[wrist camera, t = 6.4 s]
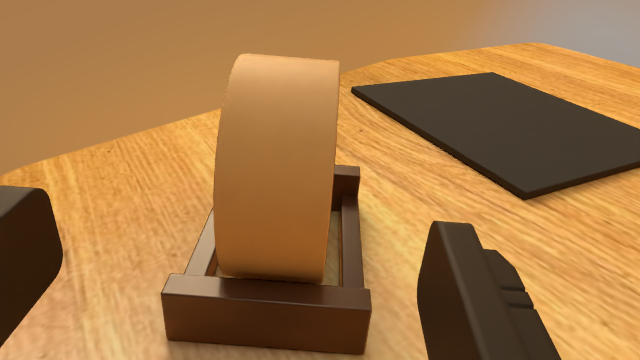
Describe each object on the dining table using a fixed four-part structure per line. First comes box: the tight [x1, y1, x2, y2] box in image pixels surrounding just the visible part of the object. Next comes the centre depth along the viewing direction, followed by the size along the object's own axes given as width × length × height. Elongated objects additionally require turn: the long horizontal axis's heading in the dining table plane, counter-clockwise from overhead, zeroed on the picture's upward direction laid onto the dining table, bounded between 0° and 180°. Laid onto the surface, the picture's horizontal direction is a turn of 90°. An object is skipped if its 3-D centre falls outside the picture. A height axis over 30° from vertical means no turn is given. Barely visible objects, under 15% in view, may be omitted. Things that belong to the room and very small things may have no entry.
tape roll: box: [213, 54, 340, 284], centre depth 21 cm, size 4×10×10 cm, turn 178°
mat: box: [351, 72, 640, 200], centre depth 43 cm, size 22×20×1 cm
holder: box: [161, 165, 372, 354], centre depth 23 cm, size 8×12×2 cm
